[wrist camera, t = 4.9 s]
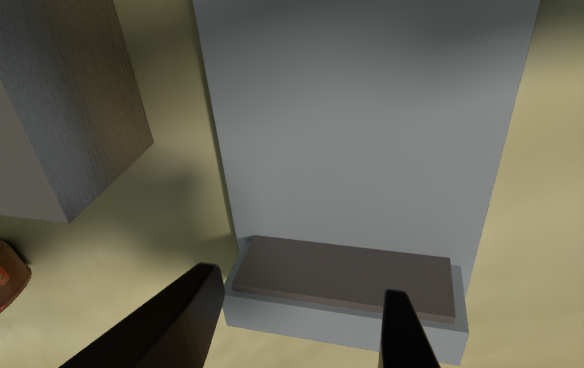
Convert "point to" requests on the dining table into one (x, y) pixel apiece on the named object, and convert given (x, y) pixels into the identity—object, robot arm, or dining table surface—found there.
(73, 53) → the steel block
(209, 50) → the vise body
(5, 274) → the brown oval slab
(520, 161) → the dining table surface
